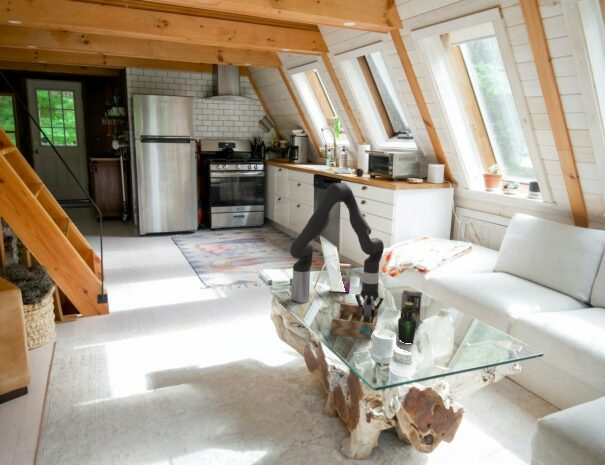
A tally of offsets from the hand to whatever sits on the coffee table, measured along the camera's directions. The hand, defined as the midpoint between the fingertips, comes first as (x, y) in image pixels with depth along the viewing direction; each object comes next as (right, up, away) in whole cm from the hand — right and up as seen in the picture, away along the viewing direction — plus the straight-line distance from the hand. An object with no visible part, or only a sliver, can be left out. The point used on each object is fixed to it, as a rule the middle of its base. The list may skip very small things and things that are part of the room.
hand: (368, 315), depth 227 cm
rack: (-6, -6, +3) cm, 9 cm away
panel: (0, -3, +1) cm, 3 cm away
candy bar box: (-9, +5, +53) cm, 54 cm away
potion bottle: (+15, -10, -11) cm, 21 cm away
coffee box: (+21, -6, +8) cm, 24 cm away
